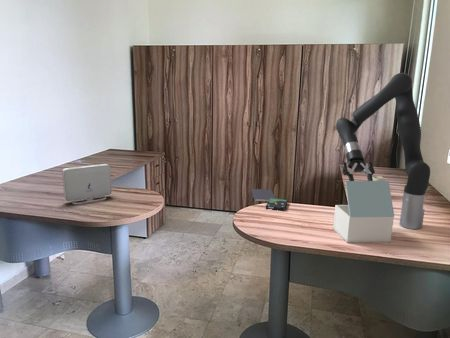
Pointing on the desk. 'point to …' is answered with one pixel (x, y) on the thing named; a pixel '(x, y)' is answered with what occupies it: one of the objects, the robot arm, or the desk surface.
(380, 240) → the carton
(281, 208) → the disk drive
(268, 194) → the notebook
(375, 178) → the character mug
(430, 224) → the desk surface
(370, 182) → the lid flap
